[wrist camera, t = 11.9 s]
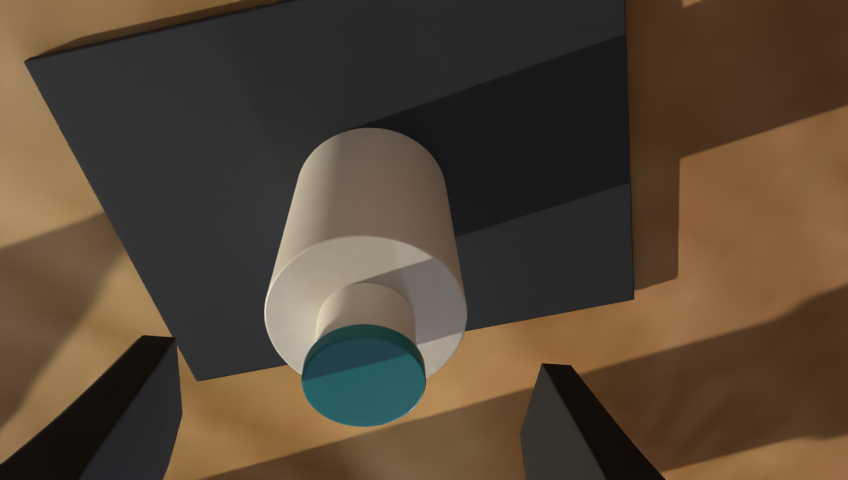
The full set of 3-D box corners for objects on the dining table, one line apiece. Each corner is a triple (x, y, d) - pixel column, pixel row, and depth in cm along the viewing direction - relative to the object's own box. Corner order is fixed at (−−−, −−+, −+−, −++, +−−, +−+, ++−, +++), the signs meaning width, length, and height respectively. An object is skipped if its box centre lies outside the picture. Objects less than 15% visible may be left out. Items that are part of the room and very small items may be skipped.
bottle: (337, 278, 21) (313, 483, 14) (268, 161, 19) (201, 339, 12) (467, 230, 20) (507, 423, 14) (413, 103, 18) (429, 258, 11)
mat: (199, 374, 24) (196, 382, 23) (30, 57, 17) (22, 61, 17) (631, 293, 22) (634, 299, 22) (618, -76, 16) (623, -74, 16)
